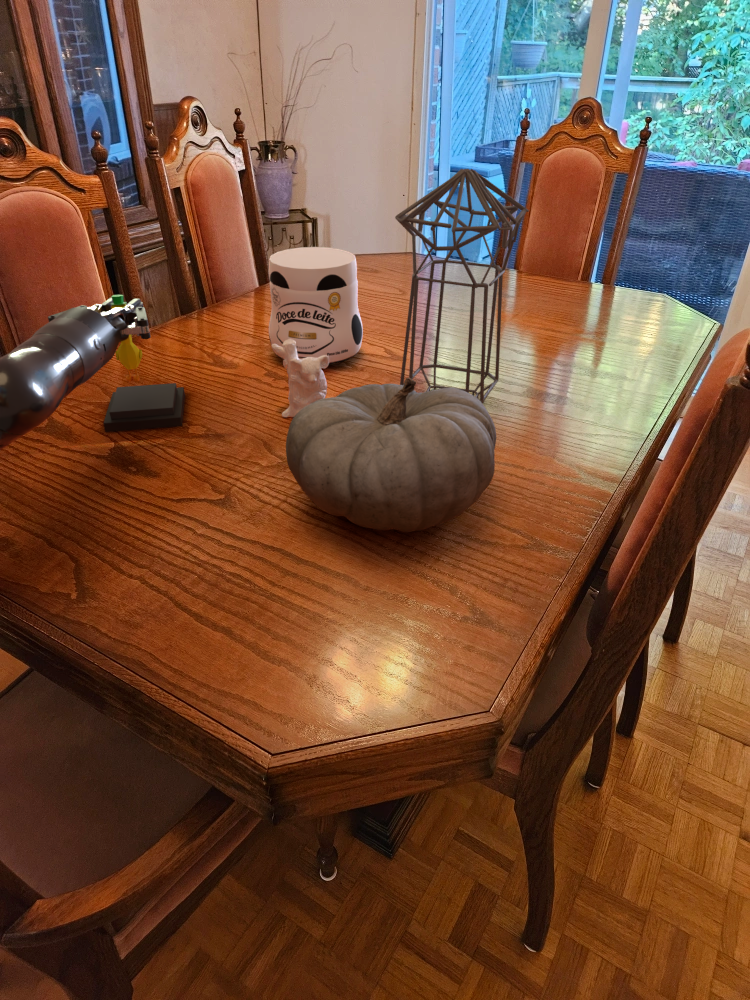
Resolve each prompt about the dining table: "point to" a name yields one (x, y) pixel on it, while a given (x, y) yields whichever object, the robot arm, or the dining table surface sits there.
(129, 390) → the pad stack
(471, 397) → the gourd
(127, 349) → the toy figure
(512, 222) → the geometric lantern
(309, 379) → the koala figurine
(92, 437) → the dining table surface
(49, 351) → the robot arm
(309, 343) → the milk container
